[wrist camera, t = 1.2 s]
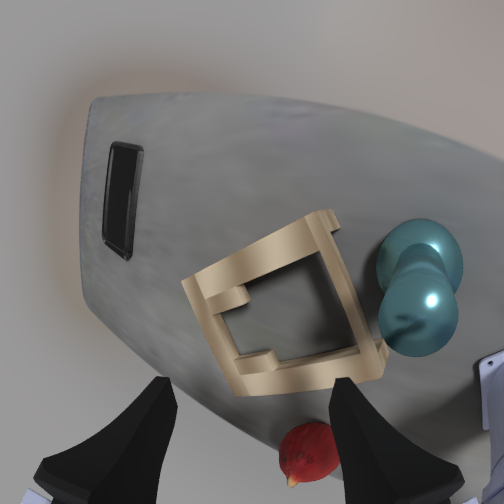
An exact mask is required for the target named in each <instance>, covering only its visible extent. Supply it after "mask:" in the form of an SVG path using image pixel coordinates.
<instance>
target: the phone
mask: <svg viewBox="0 0 504 504" xmlns="http://www.w3.org/2000/svg"><path fill="white" fill-rule="evenodd" d="M143 158H144V149H143V147H142V146H140V145H135V144H130V143H125V142H117V141H115V142H113V143H112V144H111V147H110V153H109V160H108V167H107V176H106V185H105V195H104V207H103V223H102V239H103V242H104V243H105V244H106V245H107V246H108V247H109V248H111V249H112V250H113V251H114V252H116V253H117V254H118V255H119V256H121V257H122V258H123V259H128V258H131V257H132V253H133V240H134V228H135V218H136V208H137V199H138V191H139V184H140V177H141V170H142V164H143Z"/></svg>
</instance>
